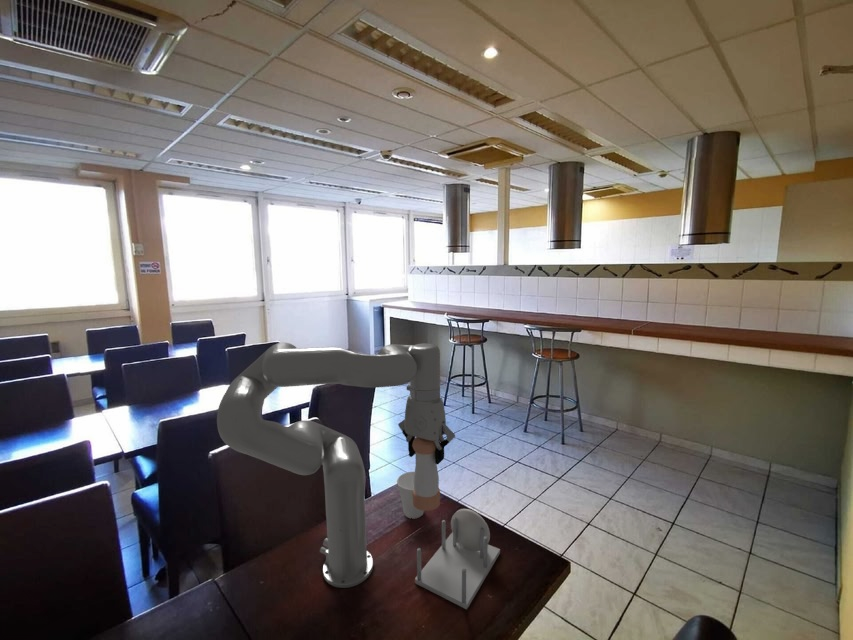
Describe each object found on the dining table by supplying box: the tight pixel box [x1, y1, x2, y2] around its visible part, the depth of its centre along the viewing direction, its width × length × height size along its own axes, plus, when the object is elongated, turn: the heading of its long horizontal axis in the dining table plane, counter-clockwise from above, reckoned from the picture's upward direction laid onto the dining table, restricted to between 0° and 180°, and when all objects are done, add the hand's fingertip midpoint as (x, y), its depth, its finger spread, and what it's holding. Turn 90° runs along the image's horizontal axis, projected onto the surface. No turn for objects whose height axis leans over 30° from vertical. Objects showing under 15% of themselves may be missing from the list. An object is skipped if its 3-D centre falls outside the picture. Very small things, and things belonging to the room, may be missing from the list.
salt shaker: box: [412, 437, 441, 512], centre depth 104 cm, size 7×7×19 cm
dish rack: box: [414, 508, 501, 610], centre depth 100 cm, size 14×20×12 cm
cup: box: [396, 471, 425, 520], centre depth 122 cm, size 10×10×11 cm
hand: (426, 457), depth 103 cm, fingers closed on salt shaker, 7 cm apart
